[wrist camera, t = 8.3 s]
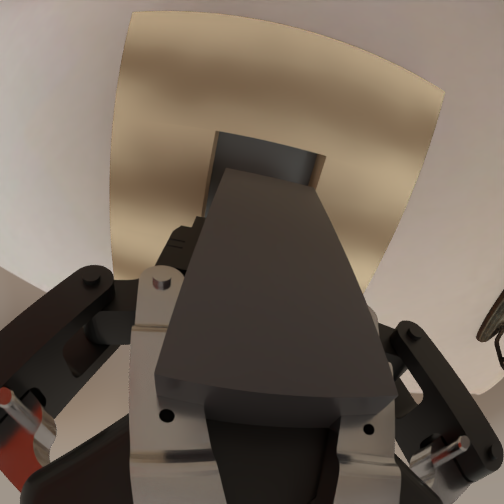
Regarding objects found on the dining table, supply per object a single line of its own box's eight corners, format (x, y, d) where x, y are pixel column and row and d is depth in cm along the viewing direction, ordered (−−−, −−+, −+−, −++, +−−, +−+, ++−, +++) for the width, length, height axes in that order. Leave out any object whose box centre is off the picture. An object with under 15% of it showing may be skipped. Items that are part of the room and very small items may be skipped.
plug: (226, 167, 12) (153, 373, 4) (313, 187, 12) (398, 395, 4) (203, 302, 16) (170, 472, 8) (270, 314, 17) (273, 483, 8)
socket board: (151, 21, 12) (126, 9, 9) (420, 88, 14) (452, 93, 11) (129, 275, 23) (112, 305, 20) (330, 313, 24) (338, 345, 21)
